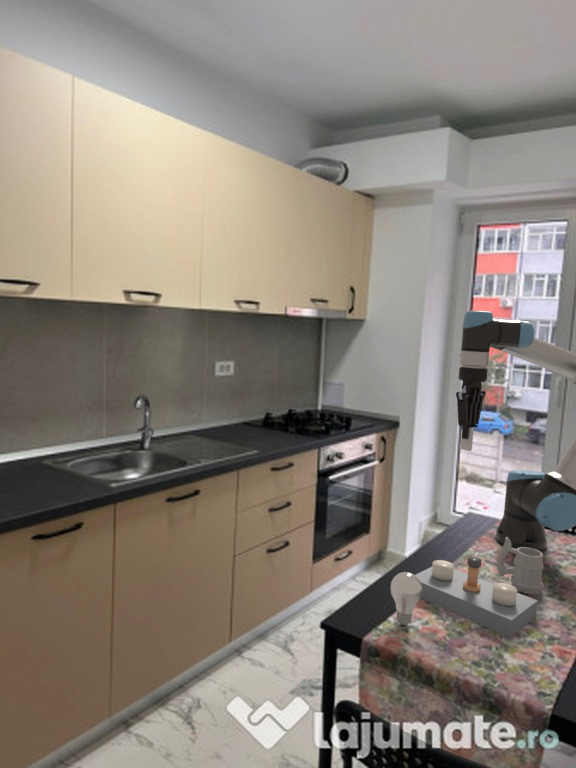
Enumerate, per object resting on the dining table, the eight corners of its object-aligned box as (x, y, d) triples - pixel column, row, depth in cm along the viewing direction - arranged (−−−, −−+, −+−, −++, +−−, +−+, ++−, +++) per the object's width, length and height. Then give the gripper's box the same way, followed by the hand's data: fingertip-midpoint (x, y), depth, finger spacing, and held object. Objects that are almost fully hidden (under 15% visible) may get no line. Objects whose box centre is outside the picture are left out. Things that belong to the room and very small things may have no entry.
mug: (537, 598, 143) (542, 552, 142) (490, 583, 150) (494, 539, 149) (545, 587, 149) (550, 543, 148) (499, 574, 156) (503, 531, 155)
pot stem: (468, 583, 140) (470, 554, 139) (483, 589, 137) (486, 560, 136) (459, 588, 137) (462, 558, 136) (475, 594, 134) (478, 564, 134)
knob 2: (496, 608, 136) (499, 580, 135) (518, 617, 132) (521, 588, 131) (486, 615, 132) (489, 587, 131) (508, 625, 128) (511, 595, 127)
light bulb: (384, 616, 130) (388, 566, 128) (414, 617, 130) (418, 566, 129) (391, 633, 123) (395, 580, 121) (423, 633, 123) (427, 580, 122)
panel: (437, 577, 152) (439, 563, 151) (536, 616, 133) (537, 600, 133) (408, 592, 142) (409, 577, 141) (509, 637, 124) (511, 620, 123)
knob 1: (437, 584, 147) (439, 558, 146) (455, 591, 143) (457, 565, 142) (426, 590, 143) (428, 563, 142) (444, 598, 140) (447, 570, 139)
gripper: (472, 365, 165) (465, 444, 168) (449, 365, 156) (442, 449, 159) (497, 367, 160) (489, 449, 163) (474, 368, 151) (466, 455, 154)
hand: (466, 449), depth 161 cm, fingers closed
